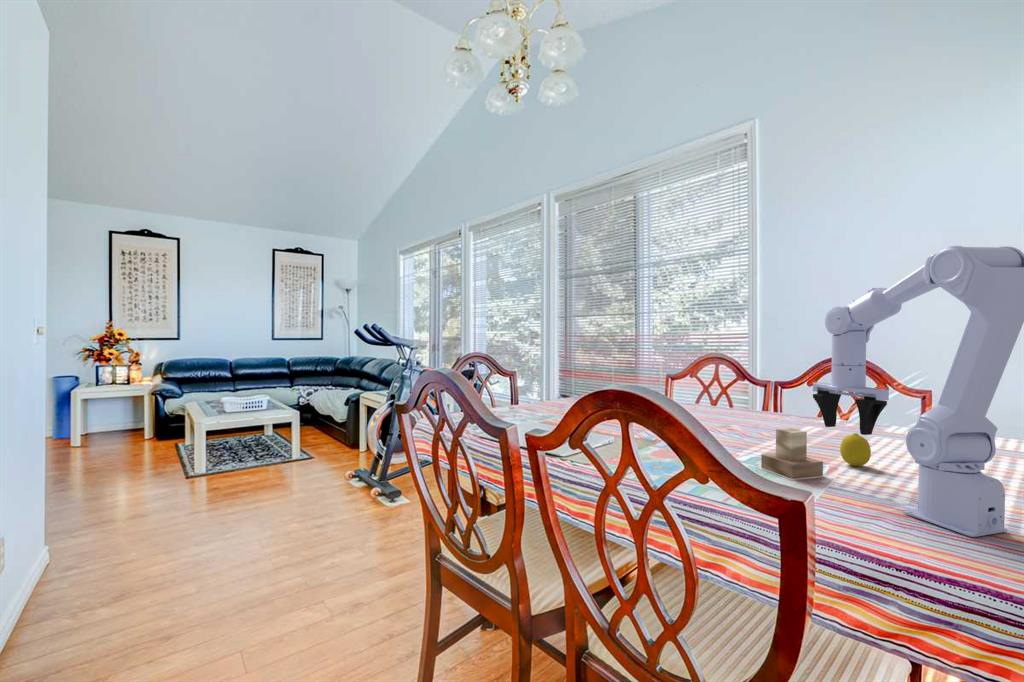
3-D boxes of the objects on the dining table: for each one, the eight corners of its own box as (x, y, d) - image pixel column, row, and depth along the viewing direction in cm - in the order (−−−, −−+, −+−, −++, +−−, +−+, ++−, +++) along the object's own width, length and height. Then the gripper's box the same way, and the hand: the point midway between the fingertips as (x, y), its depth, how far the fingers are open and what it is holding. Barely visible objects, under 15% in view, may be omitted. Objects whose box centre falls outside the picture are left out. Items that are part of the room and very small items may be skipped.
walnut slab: (822, 475, 94) (822, 461, 94) (792, 478, 92) (792, 464, 92) (790, 465, 102) (790, 451, 102) (761, 467, 100) (761, 454, 100)
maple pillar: (806, 459, 96) (806, 431, 96) (791, 461, 95) (791, 432, 95) (790, 454, 100) (790, 427, 100) (775, 456, 99) (776, 428, 99)
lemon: (871, 473, 98) (871, 437, 98) (839, 468, 101) (840, 433, 101) (870, 467, 102) (870, 432, 102) (840, 463, 106) (840, 429, 106)
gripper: (802, 363, 99) (801, 424, 99) (869, 368, 85) (868, 439, 85) (827, 362, 101) (826, 422, 101) (897, 367, 87) (896, 437, 87)
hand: (847, 430), depth 93 cm, fingers open, 7 cm apart
